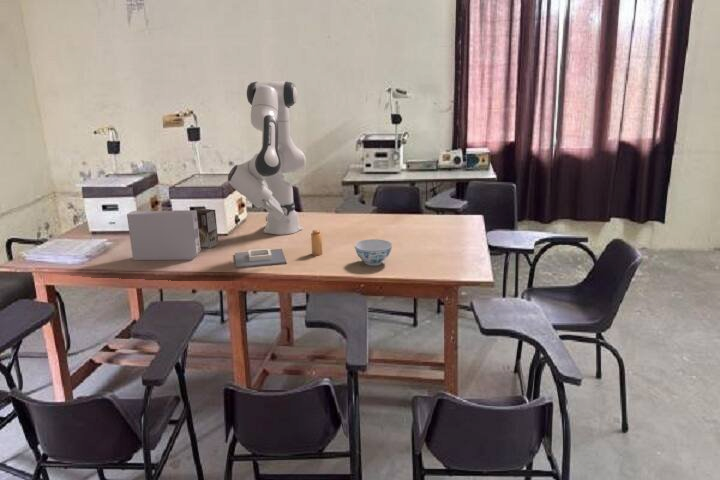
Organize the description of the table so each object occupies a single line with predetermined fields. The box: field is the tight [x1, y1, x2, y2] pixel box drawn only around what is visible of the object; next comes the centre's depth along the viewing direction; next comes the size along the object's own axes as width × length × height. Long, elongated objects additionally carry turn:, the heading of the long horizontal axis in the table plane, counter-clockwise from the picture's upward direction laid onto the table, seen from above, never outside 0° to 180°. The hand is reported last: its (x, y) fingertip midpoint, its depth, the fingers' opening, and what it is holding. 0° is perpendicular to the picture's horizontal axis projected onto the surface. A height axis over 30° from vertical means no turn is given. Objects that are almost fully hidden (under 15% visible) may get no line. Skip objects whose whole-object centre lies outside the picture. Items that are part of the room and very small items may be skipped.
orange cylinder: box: [310, 229, 323, 257], centre depth 248 cm, size 4×4×10 cm
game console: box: [126, 209, 201, 261], centre depth 246 cm, size 6×27×20 cm, turn 88°
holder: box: [234, 248, 288, 269], centre depth 244 cm, size 18×20×3 cm
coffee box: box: [195, 207, 219, 249], centre depth 263 cm, size 9×6×16 cm
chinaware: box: [354, 238, 393, 267], centre depth 236 cm, size 15×15×8 cm
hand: (287, 219), depth 243 cm, fingers open, 8 cm apart
